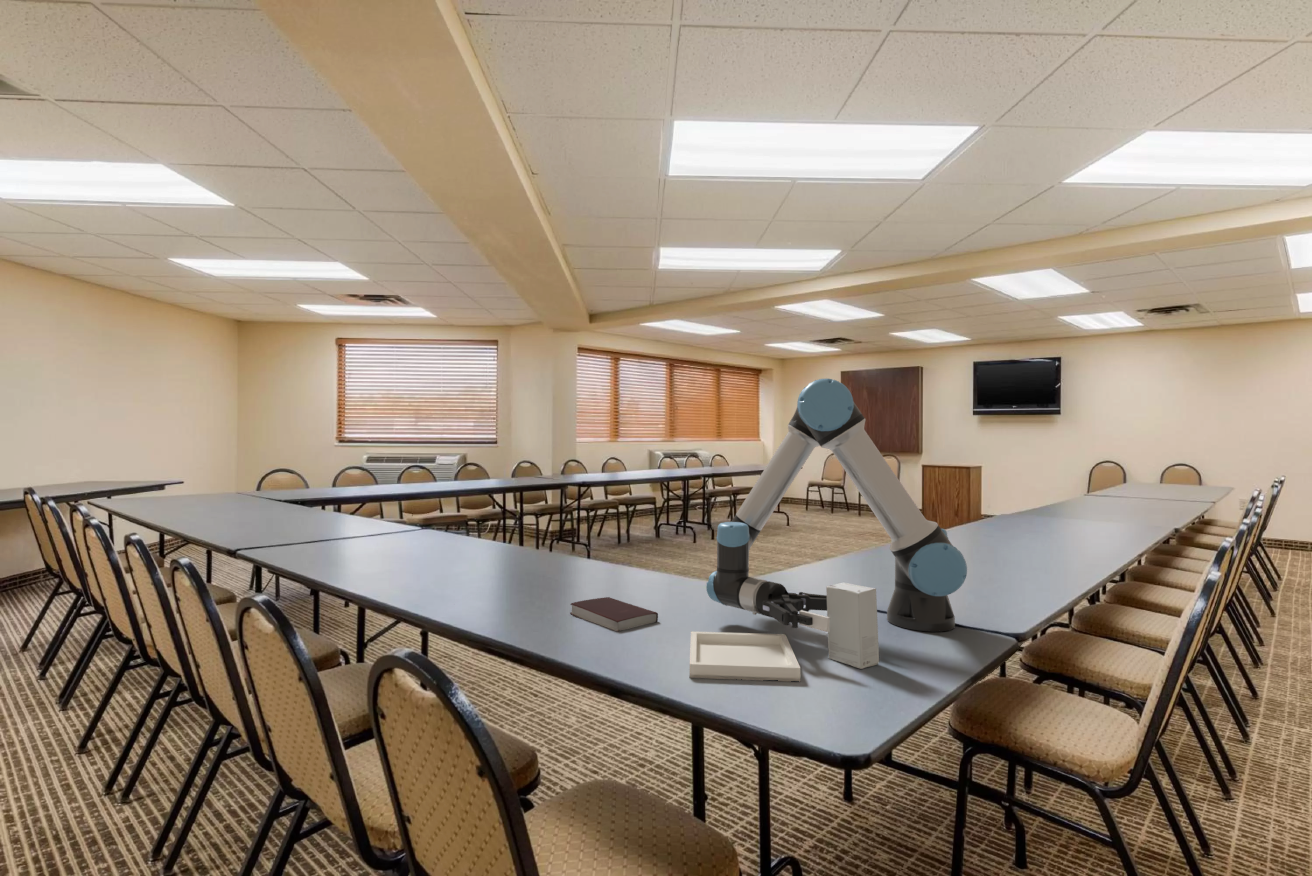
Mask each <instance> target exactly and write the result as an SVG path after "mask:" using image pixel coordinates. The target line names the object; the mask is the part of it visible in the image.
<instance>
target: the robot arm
mask: <svg viewBox="0 0 1312 876" xmlns="http://www.w3.org/2000/svg"><path fill="white" fill-rule="evenodd" d="M796 404H797V405H796V409H795V411H794V414H793V415H792V417H791V420H790V421H789V423H788V424H787V429H788V432H787V434H786V435H785V436H784V438H782V439H783V440H781V443H780V444H779V446H778V447H777V449H776V451H775V452H774V454H773V455H772V457H771V458H770V460H769V462H768V463H767V464H766V467H765V468H764V469H763V471H762V472H761V474H760V475H759V477H758V479H757V480H756V482H755V484H754V485H753V487H752V488H751V490H750V491H749V492H748V495H747V496H746V497H745V499H744V501H743V502H742V504H741V505H740V507H739V509H738V510H737V511H736V513H735V516H734V517H733V519H732V520H731V521H725V522H720V523H719V524H718V525H717V530H716V531H717V533H716V534H717V535H716V570H714V571H713V572H712V573H711V574H710V575H709V576H708V581H707V582H706V585H705V586H706V593H707V595H708V596H709V597H708V598H710V599H711V601H713V602H716V603H719V604H722V605H723V606H726V607H728V606H729V607H731V608H735V609H741V610H744V611H748V612H751V613H752V615H755V616H756V615H757V614H758V615H762V616H764V617H769V618H772V619H775V620H776V621H777V622H780V623H781V624H782V625H784V626H790V624H791V628H793V629H798V628H799V625H800V626H804V627H807V628H810V629H814V630H818V631H822V632H826V633H828V632H829V631H830V617H827V616H825V615H822V614H818V613H814V612H810V611H826V612H827V594H816V593H808V592H802V591H799V592H798V593H796V592H788V590H787V588H786V587H785V586H784V584H782V583H778V582H773V581H768V580H766V579H760V578H755V577H752V576H749V573H750V572H749V570H750V566H749V565H750V563H749V562H750V561H749V560H750V549H751V547H753V544H754V542H755V541H756V539H757V537H758V536H759V535H760V533H761V531H762V529H763V528H764V526H765V525H766V524H767V522H768V521H769V519H770V517H771V516H772V514H773V513H774V512H775V509H776V508H777V506H778V505H779V504H780V502H781V501H782V499H783V497H784V496H785V494H786V493H787V492H788V489H789V488H790V486H791V485H792V484H793V482H794V480H795V479H796V477H797V476H798V474H799V472H800V471H801V469H802V468H803V466H804V465H805V464H806V463H807V460H808V459H809V457H810V456H811V454H812V453H813V451H814V450H815V448H817V447H820V448H823V449H827V450H830V451H831V452H832V454H833V455H834V456H835V458H836V460H837V461H838V463H839V464H840V465H841V467H842V468H843V470H844V472H845V473H846V474H847V476H848V477H849V478H850V481H852V483H853V485H854V486H855V488H856V489H857V491H858V492H859V493H860V495H861V496H862V497H863V500H864V501H865V502H866V504H867V506H869V508H870V510H871V511H872V512H873V514H874V516H875V517H876V519H877V521H879V523H880V525H881V527H883V529H884V531H885V532H886V534H887V535H888V536H889V538H890V541H891V542H890V547H889V550H890V552H891V553H892V554H893V556H894V590H893V592H892V596H891V599H890V601H889V604H888V606H887V609H886V621H888V623H890V624H892V625H894V626H898V627H900V628H902V629H903V628H904V629H907V630H912V631H918V632H919V631H921V632H922V631H923V632H947V631H951V630H953V629H955V628H956V627H955V626H956V616H955V613H954V610H953V608H952V604H951V602H950V598H949V595H952V594H953V593H955V592H957V591H958V590H959V589H961V587H962V586H963V584H964V582H965V581H966V579H967V574H968V566H967V562H966V559H965V557H964V555H963V553H962V552H961V551H960V550H959V549H958V548H957V547H956V546H954V545H953V544H952V542H951V541H950V540H949V537H948V531H947V530H946V529H945V528H942V527H940V525H939V524H938V522H936V521H932V520H928V519H926V517H925V516H924V515H923V513H922V512H921V510H920V509H919V507H918V506H917V504H916V503H915V501H914V500H913V499H912V497H911V495H910V494H909V493H908V491H907V490H906V488H905V487H904V485H903V484H902V482H901V481H900V480H899V478H898V477H897V475H896V473H895V472H894V471H893V469H892V468H891V466H890V465H889V463H888V462H887V461H886V459H885V458H884V456H883V454H882V453H881V452H880V450H879V449H878V448H877V446H876V444H875V443H874V441H873V440H872V438H870V435H869V434H868V433H867V431H866V430H865V424H866V418H865V416H864V415H863V414H862V412H861V410H860V409H859V408H858V406H857V405H856V403H855V402H854V397H853V395H852V393H851V391H850V389H849V388H848V387H847V386H846V385H845V384H844V383H842V382H840V381H838V380H836V379H833V378H819V379H815V380H814V381H812V382H809V383H808V385H806V386H805V387H804V388H803V389H802V390H801V391H800V393H799V396H798V397H797V403H796Z"/></svg>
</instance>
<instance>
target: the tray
mask: <svg viewBox="0 0 1312 876" xmlns="http://www.w3.org/2000/svg"><path fill="white" fill-rule="evenodd" d="M689 648H690V649H689V675H688V676H689V679H713V680H714V679H715V680H736V679H737V680H741V679H742V681H763V680H778V681H777V682H791V681H799V682H798V683H800V682H801V665H800V664H799V662H798V660H797V657H796V655H795V653H794V651H793V648H792V646H791V644H790V641H789V639H788V637H787V635H786V633H785V634H784V633H751V632H750V633H748V632H719V631H718V632H717V631H715V632H714V631H690V646H689Z"/></svg>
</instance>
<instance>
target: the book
mask: <svg viewBox="0 0 1312 876" xmlns="http://www.w3.org/2000/svg"><path fill="white" fill-rule="evenodd" d="M570 606H571V612H569V613H570V615H572V616H574V617H577V618H580V619H583V620H586V621H588V622H591V623H594V624H596V625H598V626H602V627H605V628H608V629H609V630H613V631H615V632H617V633H618V632H622V631H624V630H628V629H632V628H637V627H641V626H645V625H649V624H652V623H657V622H658V620H659V614H658V612H656V611H653V610H650V609H646V608H643V607H641V606H638V605H634V604H631V603H628V602H625V601H621V600H619V599H615V598H613V597H610V596H608V597H607V596H605V597H597V598H592V599H590V598H589V599H584V600H580V601H573V602H571V603H570Z"/></svg>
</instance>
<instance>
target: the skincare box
mask: <svg viewBox="0 0 1312 876" xmlns="http://www.w3.org/2000/svg"><path fill="white" fill-rule="evenodd" d="M826 595H827V611H826V615H827V616H826V617H830V631H829V632H827V642H828V645H827V646H828V647H827V648H828V659H829V660H833V661H836V662H839V663H841V664H846V665H848V666H852V667H854V668H857V669H860V670H862V669H866V668H869V667H874V666H877V665H879V663H880V658H879V657H880V656H879V655H880V653H879V652H880V651H879V650H880V649H879V627H878V626H879V625H878V603H877V601H878V600H877V588H875V587H869V586H865V585H864V586H863V585H859V584H853V583H848V582H840V583H839V582H838V583H835V584H830V585H827V586H826Z"/></svg>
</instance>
